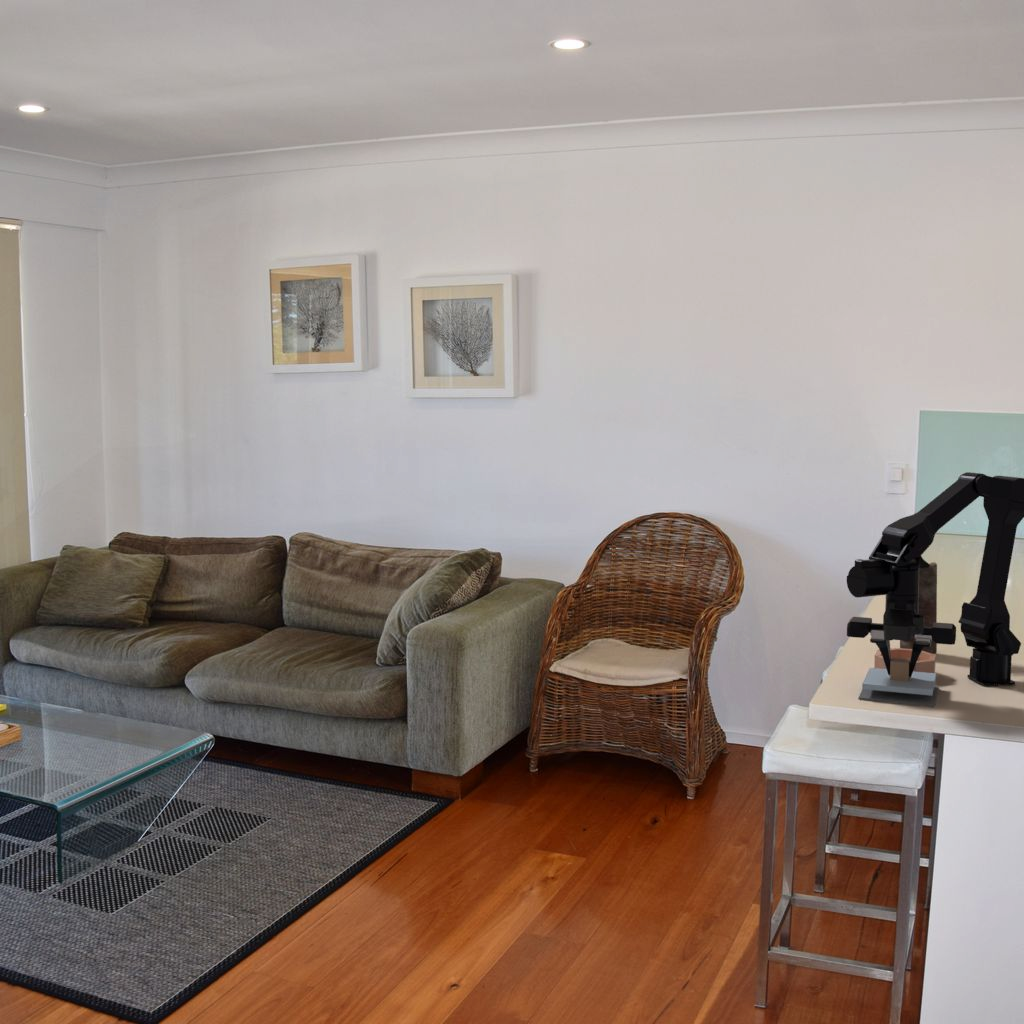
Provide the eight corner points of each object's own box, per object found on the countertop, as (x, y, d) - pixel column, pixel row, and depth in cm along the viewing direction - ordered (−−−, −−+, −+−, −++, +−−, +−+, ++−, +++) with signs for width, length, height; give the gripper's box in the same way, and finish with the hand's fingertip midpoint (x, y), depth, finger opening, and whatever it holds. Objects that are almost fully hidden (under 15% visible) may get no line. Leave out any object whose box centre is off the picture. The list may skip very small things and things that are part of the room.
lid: (869, 672, 214) (870, 649, 213) (936, 678, 209) (936, 655, 209) (862, 688, 203) (862, 664, 203) (932, 695, 198) (933, 671, 198)
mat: (866, 681, 215) (866, 679, 215) (938, 688, 210) (938, 686, 210) (858, 699, 203) (858, 697, 203) (934, 707, 198) (934, 704, 198)
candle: (891, 652, 237) (893, 559, 235) (919, 648, 240) (921, 557, 237) (915, 660, 230) (918, 565, 228) (944, 656, 233) (947, 562, 230)
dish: (878, 665, 226) (878, 646, 226) (936, 670, 222) (936, 651, 221) (872, 679, 216) (873, 659, 216) (932, 684, 212) (933, 664, 211)
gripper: (843, 597, 201) (842, 682, 202) (955, 604, 193) (952, 692, 195) (851, 586, 211) (849, 667, 213) (957, 593, 203) (954, 676, 205)
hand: (899, 675), depth 206 cm, fingers closed on lid, 3 cm apart
